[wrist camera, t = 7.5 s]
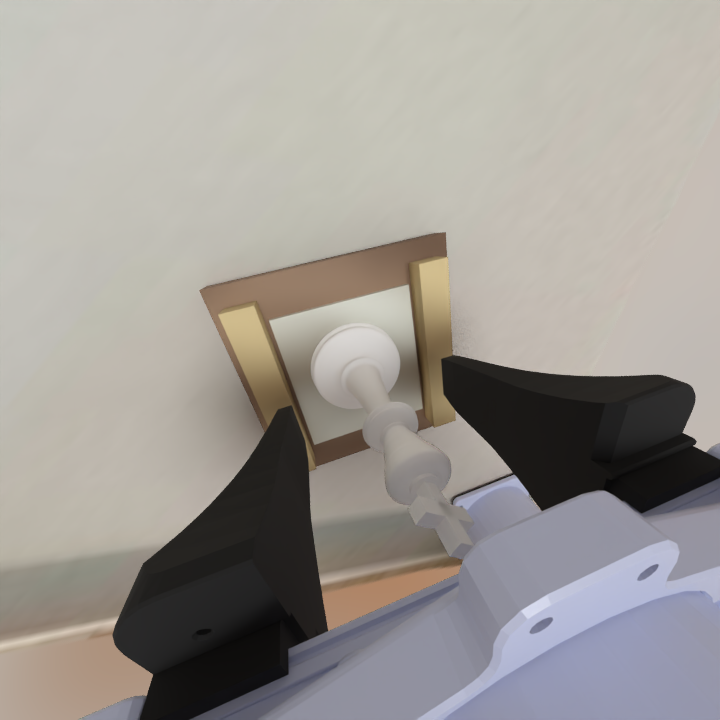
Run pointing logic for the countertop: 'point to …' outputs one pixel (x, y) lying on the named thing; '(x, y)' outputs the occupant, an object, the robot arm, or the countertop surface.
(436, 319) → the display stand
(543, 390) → the robot arm
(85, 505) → the countertop surface
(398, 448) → the chess piece
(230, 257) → the countertop surface
